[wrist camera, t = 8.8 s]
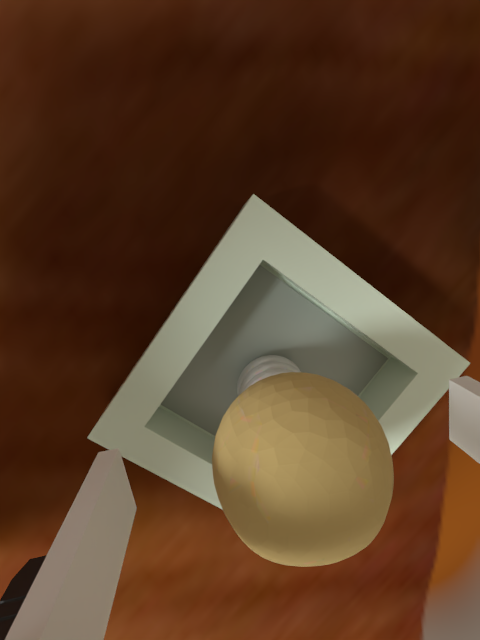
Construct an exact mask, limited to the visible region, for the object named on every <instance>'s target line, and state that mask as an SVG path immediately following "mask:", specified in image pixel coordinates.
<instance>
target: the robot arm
mask: <svg viewBox="0 0 480 640" xmlns="http://www.w3.org/2000/svg"><path fill="white" fill-rule="evenodd" d="M449 439H450V440H451V441H452V442H453V443H455V444H456V445H457V446H458V447H460V448H461V449H462V450H463V451H464V452H466V453H467V454H468V455H469V456H471V457H472V458H473V459H474V460H476V461H477V462H478V463H479V464H480V382H478V381H476V380H474V379H472V378H470V377H468V376H464V377H459V378H454V379H449ZM136 509H137V507H136V504H135V500H134V497H133V494H132V490H131V487H130V484H129V480H128V477H127V474H126V470H125V467H124V463H123V460H122V457H121V453H120V450H119V448H117V449H112V450H107V451H102V452H98V454H97V456H96V458H95V460H94V462H93V464H92V466H91V468H90V470H89V472H88V474H87V476H86V478H85V480H84V482H83V484H82V486H81V488H80V490H79V492H78V494H77V496H76V498H75V500H74V502H73V504H72V506H71V508H70V510H69V512H68V514H67V516H66V518H65V520H64V522H63V524H62V526H61V528H60V530H59V532H58V534H57V536H56V538H55V540H54V542H53V544H52V546H51V548H50V550H49V552H48V554H47V556H42V557H38V558H33V559H30V560H29V561H28V562H27V563H26V564H25V565H24V567H23V568H22V569H21V570H20V571H19V572H18V573H17V574H16V576H15V577H14V578H13V579H12V580H11V582H10V584H9V586H8V587H7V589H6V591H5V593H4V594H3V596H2V598H1V600H0V640H103V639H104V636H105V632H106V628H107V624H108V620H109V616H110V612H111V608H112V604H113V600H114V596H115V592H116V588H117V584H118V580H119V576H120V572H121V568H122V564H123V560H124V556H125V552H126V548H127V544H128V540H129V536H130V533H131V529H132V525H133V521H134V517H135V513H136Z"/></svg>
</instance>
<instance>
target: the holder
mask: <svg viewBox="0 0 480 640" xmlns="http://www.w3.org/2000/svg"><path fill="white" fill-rule="evenodd" d="M267 355H278V356H281V357H285V358H287V359H289V360H291V361H292V362H293V363H294V364H296V366H297V367H298V368H299V369H300V371H301V372H302V373H311V374H317V375H320V376H323V377H326V378H329V379H331V380H334V381H336V382H338V383H339V384H341V385H343V386H344V387H346V388H348V389H350V390H351V391H352V392H353V393H355V394H356V395H357V396H358V397H359V398H360V399H361V400H362V401H364V402H365V404H366V405H367V406H368V407H369V408H370V410H371V411H372V412H373V414H374V415H375V417H376V418H377V420H378V421H379V423H380V424H381V426H382V428H383V431H384V433H385V436H386V438H387V440H388V443H389V447H390V452H391V455H392V454H393V453H394V451H395V450H396V449H397V448H398V447H399V446H400V445H401V443H402V442H403V441H404V440H405V439H406V438H407V436H408V435H409V434H410V433H411V432H412V431H413V429H414V428H415V427H416V426H417V425H418V424H419V422H420V421H421V420H422V419H423V418H424V417H425V415H426V414H427V413H428V412H429V411H430V410H431V409H432V407H433V406H434V405H435V404H436V403H437V402H438V400H439V399H440V398H441V397H442V396H443V395H444V393H445V392H446V391H447V390H448V389H449V379H454V378H458V377H459V376H460V375H461V374H462V373H463V371H464V370H465V369H466V368H467V367H468V366H469V364H470V362H468V361H467V360H466V359H464V358H463V357H462V356H461V355H459V354H458V353H457V352H455V351H454V350H453V349H452V348H450V347H449V346H448V345H447V344H445V343H444V342H443V341H441V340H440V339H439V338H438V337H436V336H435V335H434V334H432V333H431V332H430V331H429V330H427V329H426V328H425V327H423V326H422V325H421V324H420V323H418V322H417V321H416V320H414V319H413V318H412V317H411V316H409V315H408V314H407V313H406V312H404V311H403V310H402V309H400V308H399V307H398V306H397V305H395V304H394V303H393V302H391V301H390V300H389V299H388V298H386V297H385V296H384V295H382V294H381V293H380V292H379V291H377V290H376V289H375V288H373V287H372V286H371V285H370V284H368V283H367V282H366V281H365V280H363V279H362V278H361V277H359V276H358V275H357V274H356V273H354V272H353V271H352V270H350V269H349V268H348V267H347V266H345V265H344V264H343V263H341V262H340V261H339V260H338V259H336V258H335V257H334V256H333V255H331V254H330V253H329V252H327V251H326V250H325V249H324V248H322V247H321V246H320V245H318V244H317V243H316V242H315V241H313V240H312V239H311V238H309V237H308V236H307V235H306V234H304V233H303V232H302V231H300V230H299V229H298V228H297V227H295V226H294V225H293V224H292V223H290V222H289V221H288V220H286V219H285V218H284V217H283V216H281V215H280V214H279V213H277V212H276V211H275V210H274V209H272V208H271V207H270V206H268V205H267V204H266V203H265V202H263V201H262V200H261V199H260V198H258V197H257V196H256V195H254V194H253V195H252V196H251V197H250V198H249V199H248V201H247V202H246V203H245V204H244V206H243V207H242V209H241V210H240V212H239V213H238V215H237V216H236V218H235V219H234V220H233V222H232V223H231V225H230V226H229V228H228V229H227V231H226V232H225V234H224V235H223V237H222V238H221V240H220V241H219V242H218V244H217V245H216V247H215V248H214V250H213V251H212V253H211V254H210V256H209V257H208V259H207V260H206V262H205V263H204V264H203V266H202V267H201V269H200V270H199V272H198V273H197V275H196V276H195V278H194V279H193V281H192V282H191V284H190V285H189V287H188V288H187V289H186V291H185V292H184V294H183V295H182V297H181V298H180V300H179V301H178V303H177V304H176V306H175V307H174V309H173V310H172V311H171V313H170V314H169V316H168V317H167V319H166V320H165V322H164V323H163V325H162V326H161V328H160V329H159V331H158V332H157V334H156V335H155V336H154V338H153V339H152V341H151V342H150V344H149V345H148V347H147V348H146V350H145V351H144V353H143V354H142V356H141V357H140V358H139V360H138V361H137V363H136V364H135V366H134V367H133V369H132V370H131V372H130V373H129V375H128V376H127V378H126V379H125V380H124V382H123V383H122V385H121V386H120V388H119V389H118V391H117V392H116V394H115V395H114V397H113V398H112V400H111V401H110V403H109V404H108V406H107V407H106V409H105V410H104V412H103V413H102V415H101V417H100V418H99V420H98V421H97V423H96V424H95V426H94V428H93V429H92V431H91V432H90V434H89V436H88V437H87V438H88V439H90V440H92V441H93V442H95V443H97V444H99V445H101V446H103V447H105V448H107V449H109V450H112V449H117V448H119V450H120V453H121V456H122V457H124V458H126V459H128V460H129V461H131V462H133V463H135V464H137V465H139V466H141V467H143V468H145V469H147V470H148V471H150V472H152V473H154V474H156V475H158V476H160V477H162V478H164V479H166V480H167V481H169V482H171V483H173V484H175V485H177V486H179V487H181V488H183V489H185V490H186V491H188V492H190V493H192V494H194V495H196V496H198V497H200V498H202V499H203V500H205V501H207V502H209V503H211V504H213V505H215V506H217V507H219V508H221V509H222V506H221V504H220V501H219V499H218V496H217V492H216V489H215V485H214V479H213V469H212V454H213V447H214V441H215V435H216V433H217V430H218V428H219V425H220V423H221V420H222V418H223V416H224V414H225V413H226V411H227V410H228V408H229V407H230V405H231V404H232V402H233V401H234V400H235V399H236V398H237V397H238V393H237V384H238V380H239V377H240V374H241V373H242V371H243V370H244V368H245V367H246V366H247V365H248V364H249V363H250V362H251V361H253V360H255V359H256V358H259V357H262V356H267ZM222 510H223V509H222Z"/></svg>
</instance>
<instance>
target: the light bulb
mask: <svg viewBox="0 0 480 640" xmlns="http://www.w3.org/2000/svg"><path fill="white" fill-rule="evenodd" d="M237 393H238V397H237V398H236V399H235V400H234V401H233V402H232V404H231V405H230V407H229V408H228V410H227V411H226V413H225V414H224V416H223V418H222V420H221V423H220V425H219V428H218V430H217V433H216V435H215V441H214V447H213V454H212V469H213V479H214V485H215V489H216V492H217V496H218V499H219V501H220V504H221V506H222V509H223V511H224V514H225V516H226V518H227V519H228V521H229V522H230V524H231V526H232V527H233V529H234V530H235V532H236V533H237V535H238V536H239V537H240V538H241V540H242V541H243V542H244V543H245V544H246V545H247V546H248V547H249V548H250V549H251V550H253V551H254V552H255V553H257V554H258V555H260V556H261V557H263V558H265V559H267V560H270V561H272V562H275V563H279V564H284V565H289V566H304V567H306V566H320V565H327V564H332V563H335V562H339V561H341V560H343V559H346V558H348V557H350V556H353V555H355V554H356V553H358V552H359V551H361V550H362V549H364V548H365V547H367V546H368V545H369V544H370V543H371V542H372V540H373V539H374V538H375V537H376V535H377V534H378V532H379V530H380V529H381V527H382V525H383V523H384V521H385V518H386V515H387V512H388V508H389V505H390V502H391V498H392V491H393V482H394V475H393V462H392V456H391V452H390V447H389V443H388V440H387V438H386V436H385V433H384V431H383V428H382V426H381V424H380V423H379V421H378V420H377V418H376V417H375V415H374V414H373V412H372V411H371V410H370V408H369V407H368V406H367V405H366V404H365V402H364V401H362V400H361V399H360V398H359V397H358V396H357V395H356V394H355V393H353V392H352V391H351V390H350V389H348V388H346V387H344V386H343V385H341V384H339V383H338V382H336V381H334V380H331V379H329V378H326V377H323V376H320V375H317V374H311V373H302V372H301V371H300V369H299V368H298V367H297V366H296V364H294V363H293V362H292V361H291V360H289V359H287V358H285V357H281V356H278V355H267V356H262V357H259V358H256V359H255V360H253V361H251V362H250V363H249V364H248V365H247V366H246V367H245V368H244V370H243V371H242V373H241V374H240V377H239V380H238V384H237Z"/></svg>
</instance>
